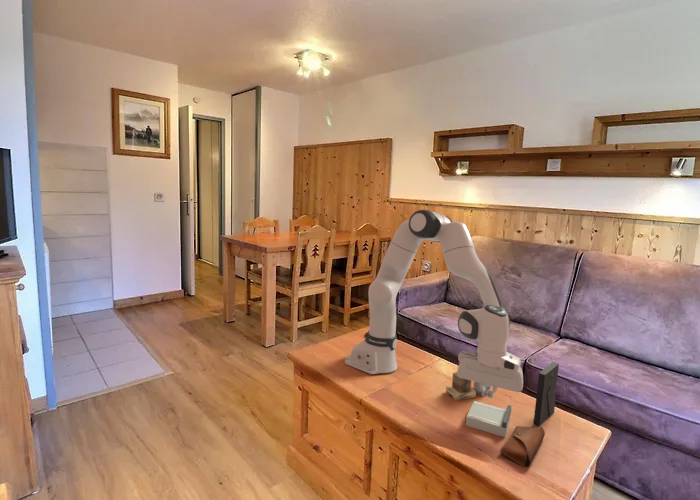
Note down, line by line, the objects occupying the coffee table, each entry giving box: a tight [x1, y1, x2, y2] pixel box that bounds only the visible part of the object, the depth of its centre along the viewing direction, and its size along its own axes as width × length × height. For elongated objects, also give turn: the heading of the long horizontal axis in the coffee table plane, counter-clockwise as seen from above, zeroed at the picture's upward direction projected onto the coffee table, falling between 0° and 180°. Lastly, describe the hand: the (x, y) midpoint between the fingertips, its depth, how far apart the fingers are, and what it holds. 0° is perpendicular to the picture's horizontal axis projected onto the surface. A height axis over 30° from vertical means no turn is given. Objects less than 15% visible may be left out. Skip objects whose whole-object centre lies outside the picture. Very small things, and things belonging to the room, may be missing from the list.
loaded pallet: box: [445, 372, 477, 401], centre depth 147 cm, size 9×6×8 cm, turn 109°
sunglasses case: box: [499, 425, 546, 468], centre depth 116 cm, size 18×7×7 cm
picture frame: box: [533, 362, 560, 427], centre depth 132 cm, size 13×2×18 cm, turn 135°
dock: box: [465, 400, 512, 438], centre depth 129 cm, size 12×12×5 cm
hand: (487, 396), depth 129 cm, fingers closed
